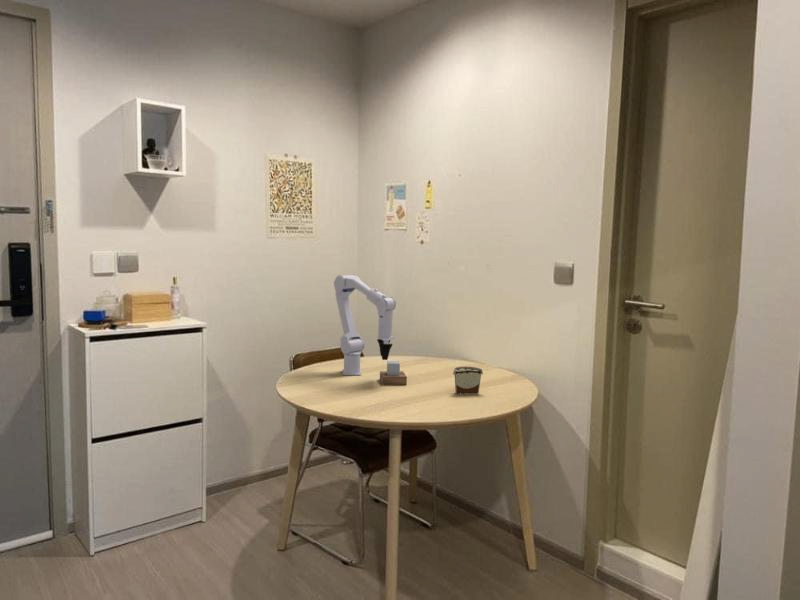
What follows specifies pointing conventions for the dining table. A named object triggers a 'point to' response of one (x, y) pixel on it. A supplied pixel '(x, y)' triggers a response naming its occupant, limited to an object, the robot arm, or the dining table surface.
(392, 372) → the gray cube
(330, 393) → the dining table surface
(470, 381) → the food container
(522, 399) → the dining table surface
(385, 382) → the walnut block
